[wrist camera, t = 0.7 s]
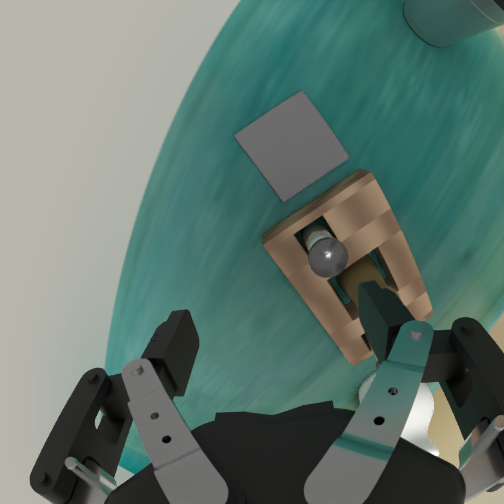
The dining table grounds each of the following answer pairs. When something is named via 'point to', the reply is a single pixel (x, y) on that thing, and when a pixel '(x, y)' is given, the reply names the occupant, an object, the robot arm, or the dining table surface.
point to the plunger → (324, 251)
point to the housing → (349, 257)
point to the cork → (360, 277)
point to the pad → (292, 145)
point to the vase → (413, 416)
